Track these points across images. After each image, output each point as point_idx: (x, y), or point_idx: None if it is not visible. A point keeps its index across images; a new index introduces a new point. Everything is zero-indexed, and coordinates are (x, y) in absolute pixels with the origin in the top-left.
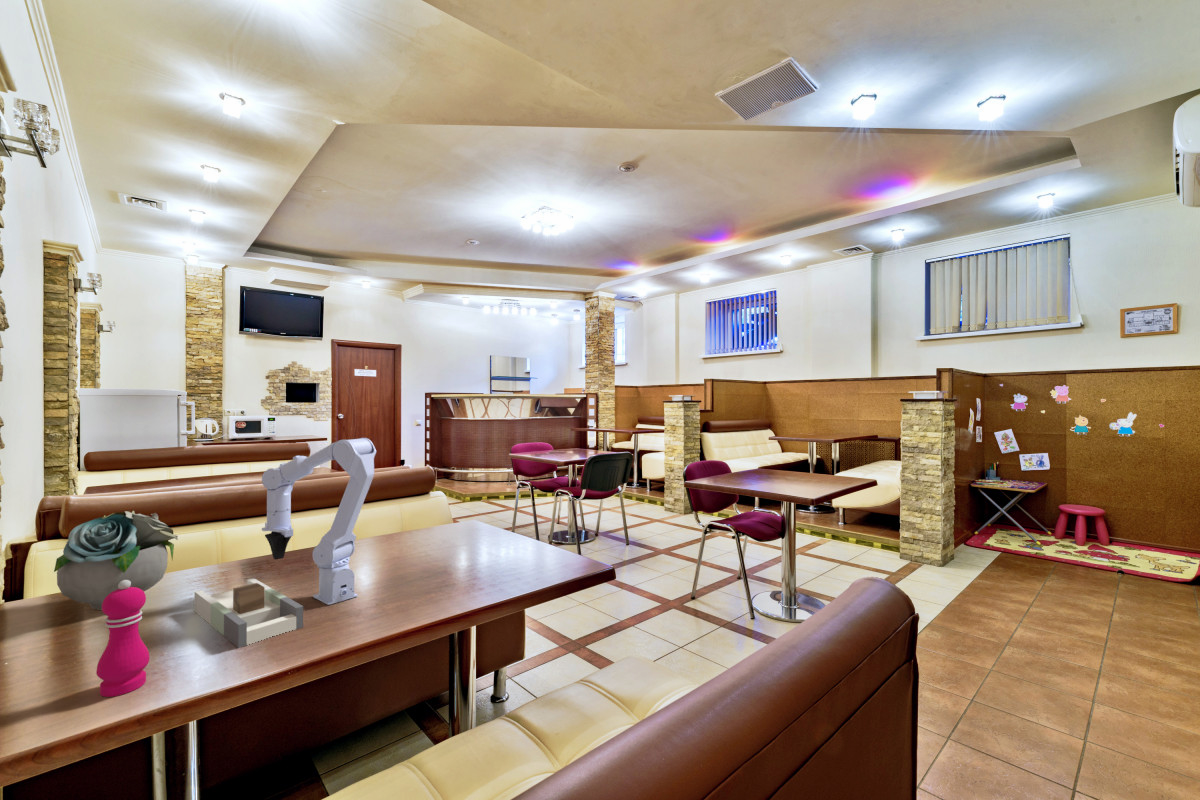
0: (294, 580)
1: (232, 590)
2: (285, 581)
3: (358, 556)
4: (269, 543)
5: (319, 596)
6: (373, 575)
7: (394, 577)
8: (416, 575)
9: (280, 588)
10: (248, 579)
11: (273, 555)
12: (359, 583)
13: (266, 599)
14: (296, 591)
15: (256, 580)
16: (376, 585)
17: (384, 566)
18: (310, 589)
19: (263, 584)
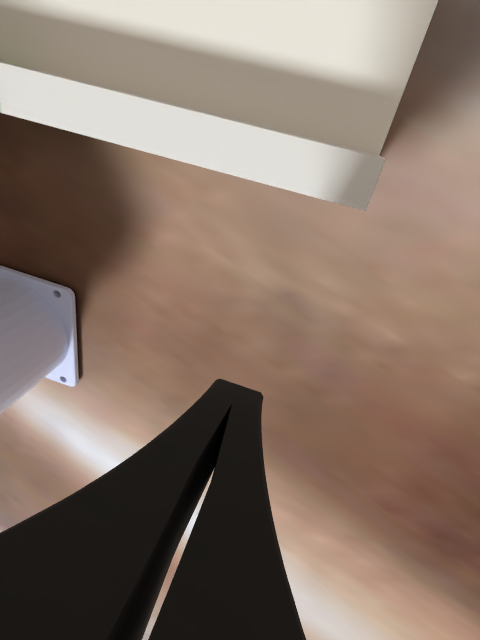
0: (356, 417)
1: (417, 25)
2: (389, 400)
3: (351, 626)
4: (258, 550)
5: (18, 284)
6: None
7: (60, 486)
8: (32, 503)
9: (318, 324)
10: (367, 163)
11: (232, 405)
12: (90, 435)
13: (3, 54)
14: (205, 318)
15: (271, 177)
16: (32, 430)
17: (175, 554)
18: (176, 352)
19: (126, 137)
